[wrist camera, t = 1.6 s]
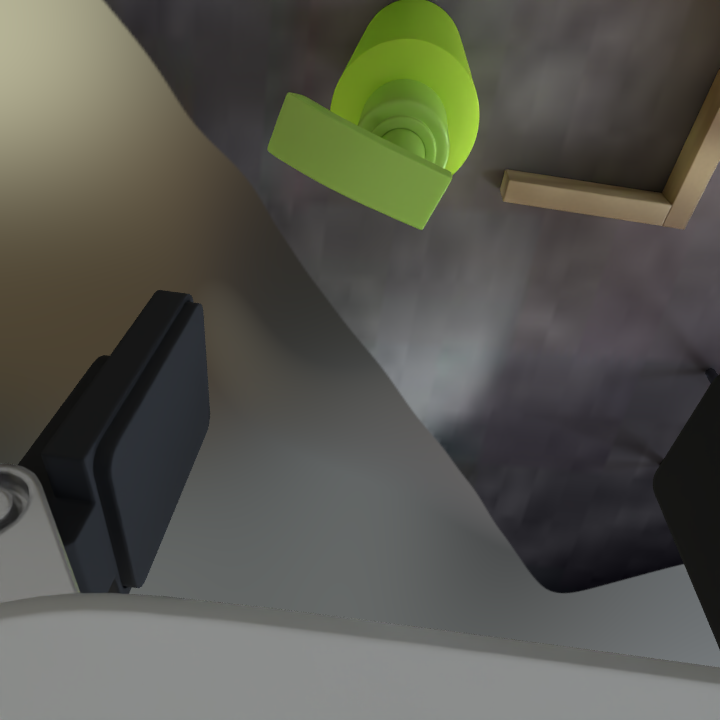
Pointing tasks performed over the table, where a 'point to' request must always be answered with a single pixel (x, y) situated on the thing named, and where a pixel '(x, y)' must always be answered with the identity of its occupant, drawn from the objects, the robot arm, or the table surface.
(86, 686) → the robot arm
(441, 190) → the soap dispenser
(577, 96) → the table surface
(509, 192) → the holder
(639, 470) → the table surface
